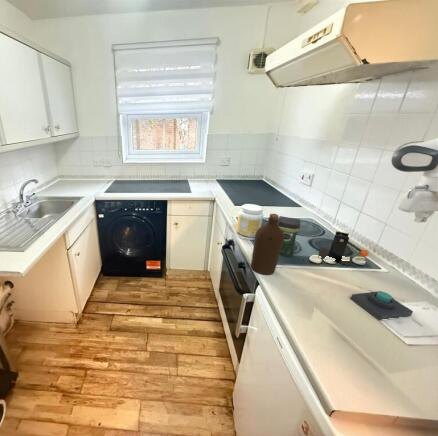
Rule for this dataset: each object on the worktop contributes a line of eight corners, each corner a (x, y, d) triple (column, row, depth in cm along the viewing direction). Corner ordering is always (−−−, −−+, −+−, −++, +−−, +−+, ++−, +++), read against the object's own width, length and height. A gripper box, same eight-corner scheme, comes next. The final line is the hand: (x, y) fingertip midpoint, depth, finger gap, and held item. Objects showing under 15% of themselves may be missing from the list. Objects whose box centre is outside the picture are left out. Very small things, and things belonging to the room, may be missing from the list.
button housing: (378, 295, 86) (382, 286, 85) (410, 316, 77) (415, 307, 76) (350, 299, 85) (353, 290, 83) (379, 320, 76) (383, 311, 74)
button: (381, 294, 82) (383, 290, 81) (393, 302, 78) (395, 298, 78) (372, 296, 81) (374, 291, 80) (384, 303, 78) (386, 299, 77)
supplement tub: (242, 229, 139) (247, 201, 132) (263, 236, 130) (269, 207, 124) (231, 235, 131) (235, 206, 125) (252, 243, 123) (258, 213, 116)
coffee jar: (292, 252, 114) (302, 217, 107) (292, 260, 108) (302, 223, 101) (270, 247, 119) (278, 213, 112) (268, 254, 113) (277, 218, 105)
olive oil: (281, 275, 98) (296, 219, 88) (257, 276, 97) (269, 220, 87) (267, 261, 107) (278, 209, 98) (244, 262, 106) (254, 210, 97)
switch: (363, 256, 103) (370, 251, 102) (364, 259, 101) (371, 254, 99) (335, 236, 107) (341, 232, 105) (335, 239, 105) (341, 234, 103)
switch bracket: (349, 258, 109) (359, 234, 104) (351, 268, 102) (361, 242, 97) (318, 251, 116) (326, 227, 111) (317, 259, 109) (326, 234, 104)
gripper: (423, 188, 77) (405, 226, 82) (474, 186, 80) (453, 223, 85) (401, 183, 83) (386, 219, 88) (449, 181, 85) (431, 217, 91)
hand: (419, 221), depth 86 cm, fingers closed
